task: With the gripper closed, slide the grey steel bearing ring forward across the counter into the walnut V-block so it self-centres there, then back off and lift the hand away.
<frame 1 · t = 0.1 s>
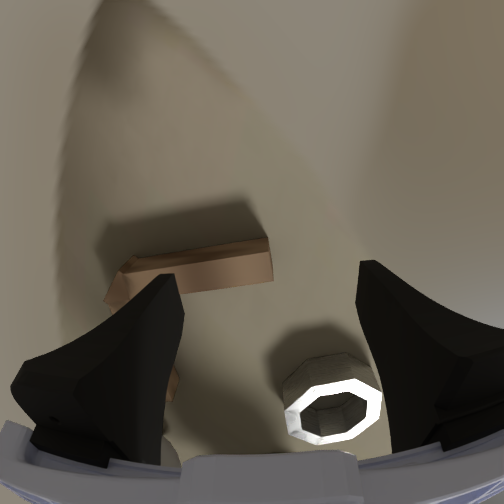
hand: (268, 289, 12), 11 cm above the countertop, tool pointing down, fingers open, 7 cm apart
vee stop: (206, 321, 25), on the countertop
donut: (147, 427, 31), on the countertop
bearing ring: (328, 389, 27), on the countertop
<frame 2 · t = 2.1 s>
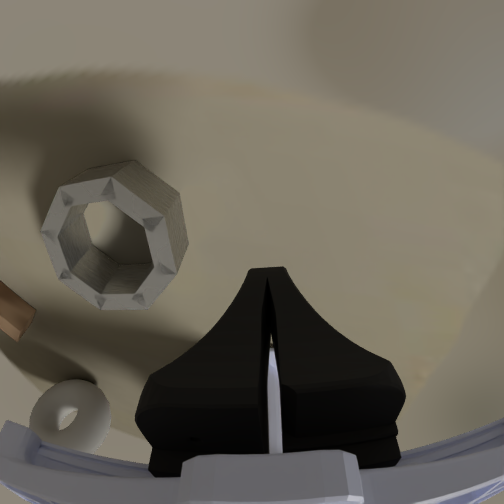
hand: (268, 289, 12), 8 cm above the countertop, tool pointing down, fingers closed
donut: (84, 381, 29), on the countertop
bearing ring: (124, 225, 20), on the countertop
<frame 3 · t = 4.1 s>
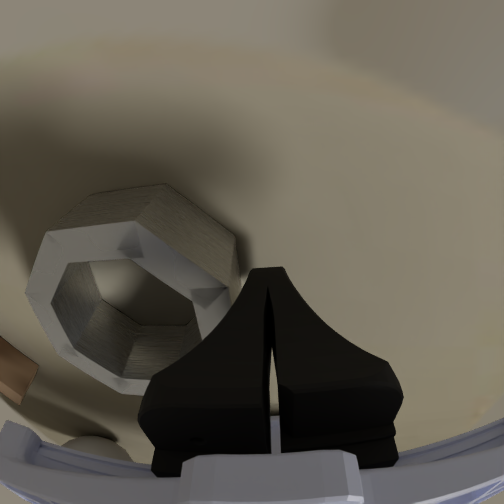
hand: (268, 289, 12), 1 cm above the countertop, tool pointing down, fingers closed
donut: (102, 436, 23), on the countertop
bearing ring: (148, 276, 14), on the countertop, touching gripper
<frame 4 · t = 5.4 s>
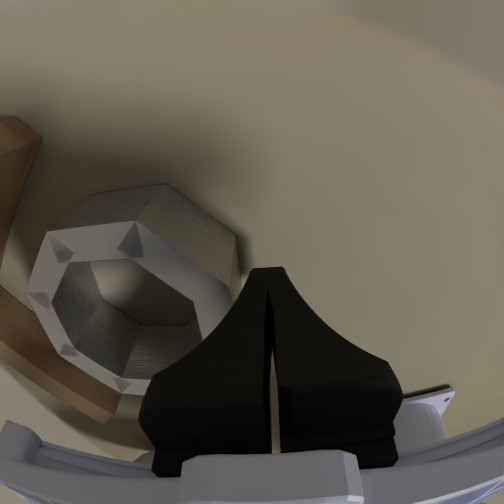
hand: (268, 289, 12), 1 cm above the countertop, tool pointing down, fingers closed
vee stop: (65, 281, 14), on the countertop
bearing ring: (148, 276, 14), on the countertop, touching gripper
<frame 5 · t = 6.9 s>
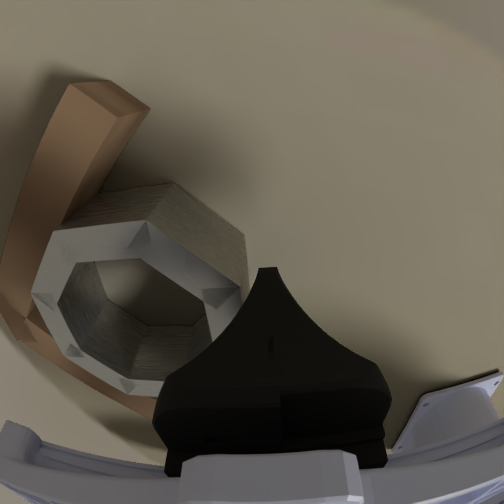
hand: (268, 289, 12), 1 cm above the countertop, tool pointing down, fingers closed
vee stop: (155, 276, 14), on the countertop
bearing ring: (155, 276, 14), on the countertop, touching gripper, vee stop
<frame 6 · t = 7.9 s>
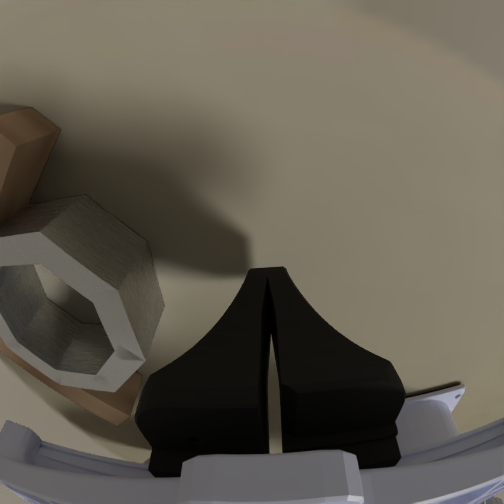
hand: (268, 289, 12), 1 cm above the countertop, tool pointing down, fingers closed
vee stop: (80, 278, 14), on the countertop
bearing ring: (80, 278, 14), on the countertop, touching vee stop
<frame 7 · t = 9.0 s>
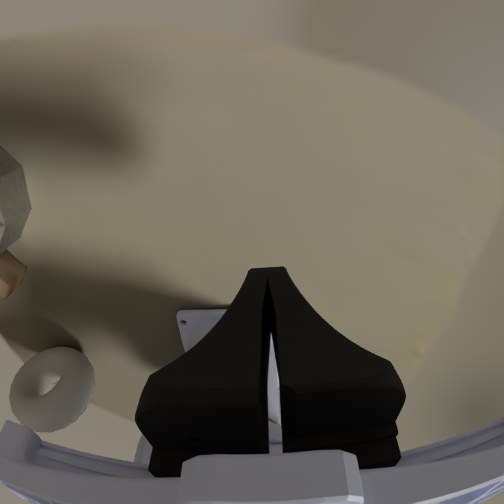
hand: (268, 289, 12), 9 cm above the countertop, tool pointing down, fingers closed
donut: (70, 350, 28), on the countertop
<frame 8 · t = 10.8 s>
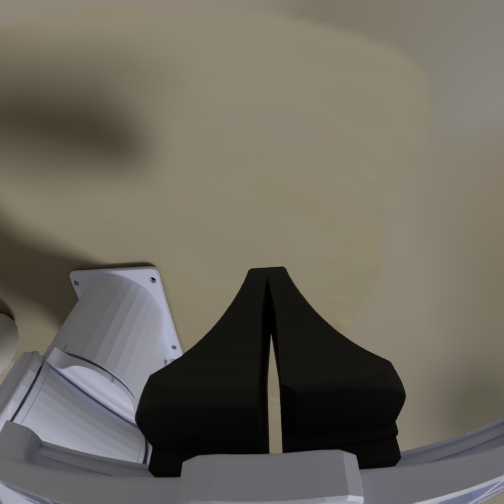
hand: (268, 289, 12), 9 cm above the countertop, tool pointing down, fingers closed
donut: (6, 318, 27), on the countertop
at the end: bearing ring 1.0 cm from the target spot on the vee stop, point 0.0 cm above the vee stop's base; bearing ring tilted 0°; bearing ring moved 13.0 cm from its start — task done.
